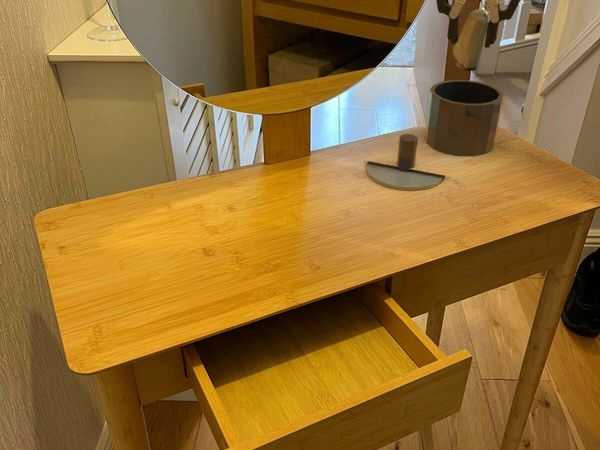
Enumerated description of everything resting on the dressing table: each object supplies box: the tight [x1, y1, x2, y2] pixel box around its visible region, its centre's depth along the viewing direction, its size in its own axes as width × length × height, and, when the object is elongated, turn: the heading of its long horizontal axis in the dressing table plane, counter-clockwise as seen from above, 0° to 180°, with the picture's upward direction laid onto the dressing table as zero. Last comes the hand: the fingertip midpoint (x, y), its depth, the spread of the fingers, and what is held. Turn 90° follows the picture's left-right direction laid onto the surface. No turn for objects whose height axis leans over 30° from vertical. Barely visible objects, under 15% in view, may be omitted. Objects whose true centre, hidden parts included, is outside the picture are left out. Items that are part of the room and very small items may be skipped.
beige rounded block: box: [452, 8, 489, 72], centre depth 94 cm, size 6×5×8 cm
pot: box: [423, 79, 504, 157], centre depth 103 cm, size 11×11×10 cm
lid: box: [365, 133, 446, 192], centre depth 97 cm, size 12×12×6 cm
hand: (470, 43), depth 95 cm, fingers closed on beige rounded block, 4 cm apart
